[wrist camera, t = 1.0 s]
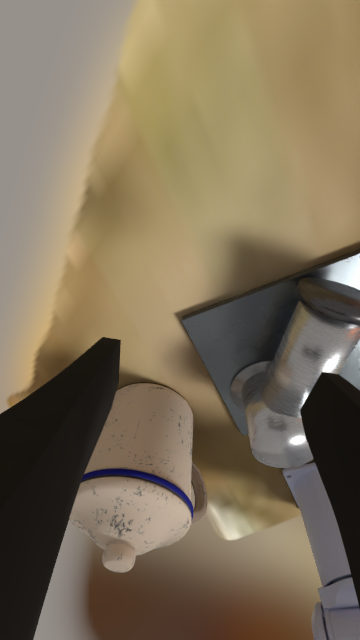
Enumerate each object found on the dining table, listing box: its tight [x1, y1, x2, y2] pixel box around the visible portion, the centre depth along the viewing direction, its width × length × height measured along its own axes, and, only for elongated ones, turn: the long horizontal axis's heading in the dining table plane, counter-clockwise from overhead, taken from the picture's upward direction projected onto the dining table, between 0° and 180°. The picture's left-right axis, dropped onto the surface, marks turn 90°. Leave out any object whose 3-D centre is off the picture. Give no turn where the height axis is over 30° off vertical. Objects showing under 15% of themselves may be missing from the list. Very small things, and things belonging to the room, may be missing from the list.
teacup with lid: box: [69, 383, 207, 572], centre depth 22 cm, size 12×9×12 cm
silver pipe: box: [241, 278, 360, 468], centre depth 18 cm, size 13×5×5 cm, turn 170°
